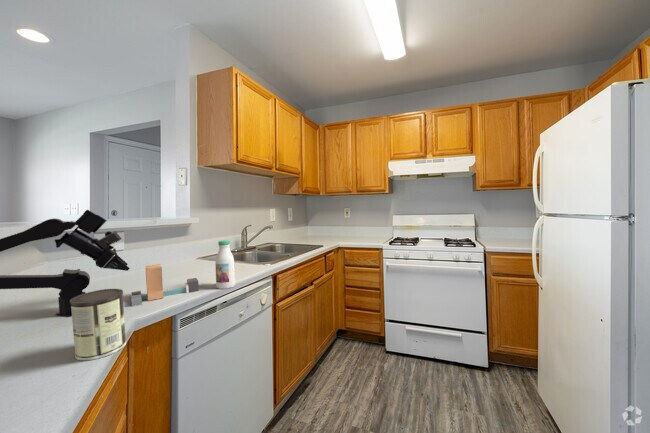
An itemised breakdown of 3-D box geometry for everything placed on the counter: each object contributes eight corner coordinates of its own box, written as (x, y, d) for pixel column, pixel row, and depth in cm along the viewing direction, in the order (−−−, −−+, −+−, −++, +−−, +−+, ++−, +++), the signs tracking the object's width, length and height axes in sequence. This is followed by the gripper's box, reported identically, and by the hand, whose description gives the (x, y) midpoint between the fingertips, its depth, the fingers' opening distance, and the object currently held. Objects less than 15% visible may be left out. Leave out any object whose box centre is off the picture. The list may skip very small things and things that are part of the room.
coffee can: (96, 340, 75) (92, 289, 75) (135, 338, 76) (132, 287, 75) (62, 362, 65) (57, 303, 64) (107, 360, 65) (103, 301, 65)
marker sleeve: (147, 300, 105) (146, 269, 104) (147, 295, 110) (145, 265, 110) (163, 297, 107) (161, 267, 107) (161, 293, 113) (160, 263, 112)
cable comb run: (131, 306, 100) (131, 294, 99) (131, 297, 110) (131, 286, 109) (200, 293, 113) (200, 282, 112) (195, 285, 123) (194, 276, 122)
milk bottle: (227, 283, 126) (225, 239, 125) (239, 285, 122) (237, 240, 121) (212, 287, 119) (210, 241, 118) (224, 290, 115) (222, 242, 114)
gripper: (102, 226, 92) (146, 252, 100) (102, 223, 107) (140, 246, 115) (75, 255, 88) (123, 279, 96) (78, 248, 103) (120, 269, 111)
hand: (127, 267), depth 105 cm, fingers open, 9 cm apart
